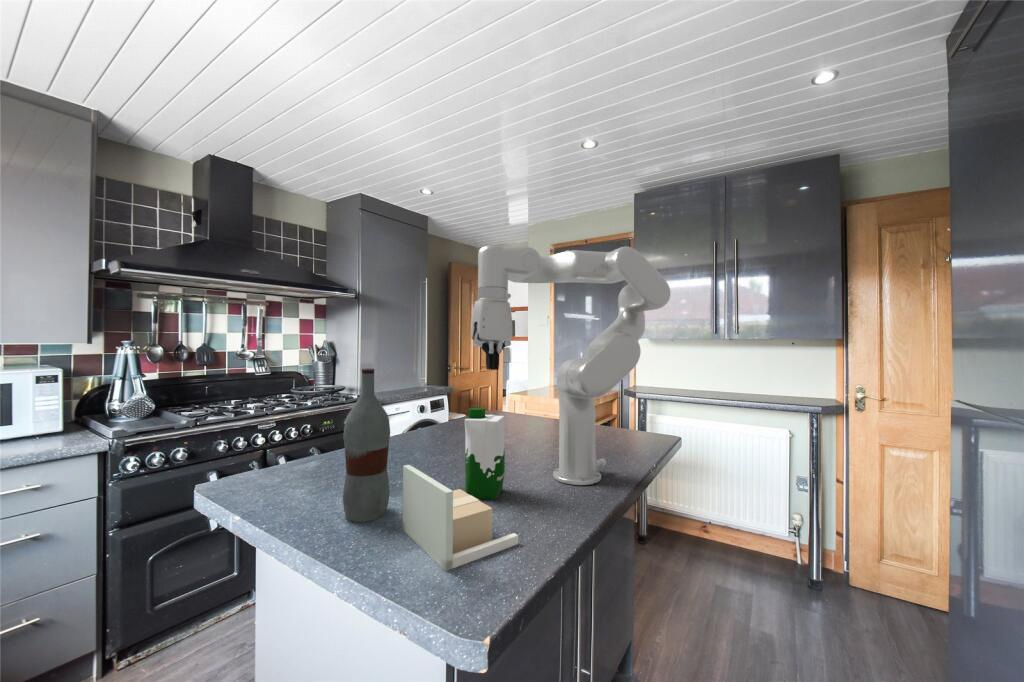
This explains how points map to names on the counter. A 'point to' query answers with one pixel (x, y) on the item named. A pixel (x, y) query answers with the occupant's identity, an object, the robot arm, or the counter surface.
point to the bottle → (366, 456)
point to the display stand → (439, 521)
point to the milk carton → (484, 454)
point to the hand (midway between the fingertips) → (492, 369)
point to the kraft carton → (470, 522)
